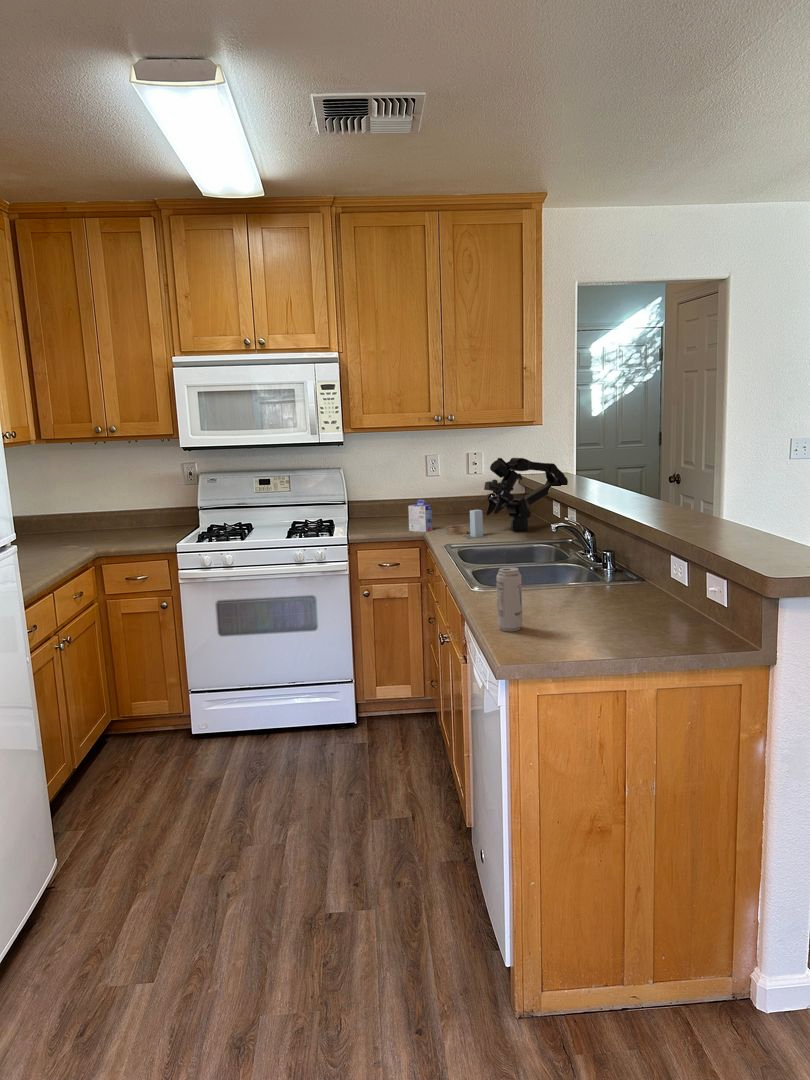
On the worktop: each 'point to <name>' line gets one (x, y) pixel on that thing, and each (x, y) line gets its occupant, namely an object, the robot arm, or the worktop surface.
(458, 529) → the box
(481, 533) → the pale blue rectangular block
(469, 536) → the mat
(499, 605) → the energy drink can
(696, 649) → the worktop surface
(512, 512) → the robot arm
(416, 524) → the ink cartridge box
